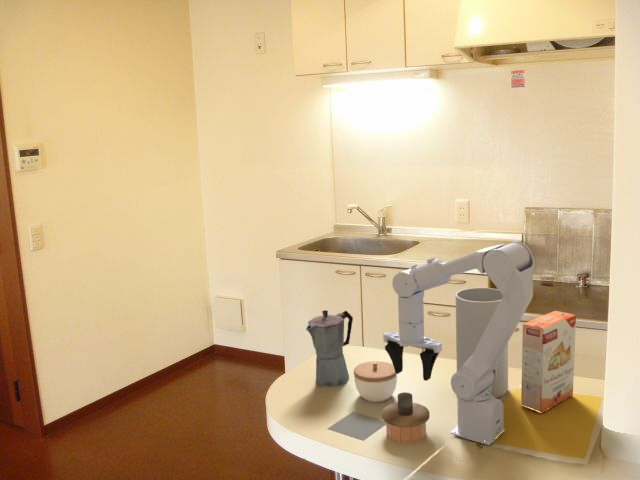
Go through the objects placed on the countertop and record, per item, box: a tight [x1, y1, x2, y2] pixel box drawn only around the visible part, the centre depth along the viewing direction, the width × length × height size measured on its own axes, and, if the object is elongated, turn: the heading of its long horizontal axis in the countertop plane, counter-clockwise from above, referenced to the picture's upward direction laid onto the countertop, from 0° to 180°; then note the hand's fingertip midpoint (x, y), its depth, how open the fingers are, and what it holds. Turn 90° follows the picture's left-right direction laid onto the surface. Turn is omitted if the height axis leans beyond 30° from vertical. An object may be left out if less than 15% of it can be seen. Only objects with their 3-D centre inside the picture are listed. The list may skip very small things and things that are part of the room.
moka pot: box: [305, 310, 354, 387], centre depth 177 cm, size 10×15×20 cm, turn 132°
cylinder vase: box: [455, 287, 509, 399], centre depth 166 cm, size 12×12×25 cm
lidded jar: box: [353, 360, 398, 403], centre depth 166 cm, size 11×11×9 cm
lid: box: [381, 391, 430, 427], centre depth 147 cm, size 10×10×5 cm
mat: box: [326, 411, 386, 441], centre depth 153 cm, size 10×10×1 cm
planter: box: [385, 422, 427, 444], centre depth 148 cm, size 9×9×4 cm
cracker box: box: [520, 310, 577, 413], centre depth 158 cm, size 14×6×21 cm, turn 129°
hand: (412, 375), depth 156 cm, fingers open, 7 cm apart
